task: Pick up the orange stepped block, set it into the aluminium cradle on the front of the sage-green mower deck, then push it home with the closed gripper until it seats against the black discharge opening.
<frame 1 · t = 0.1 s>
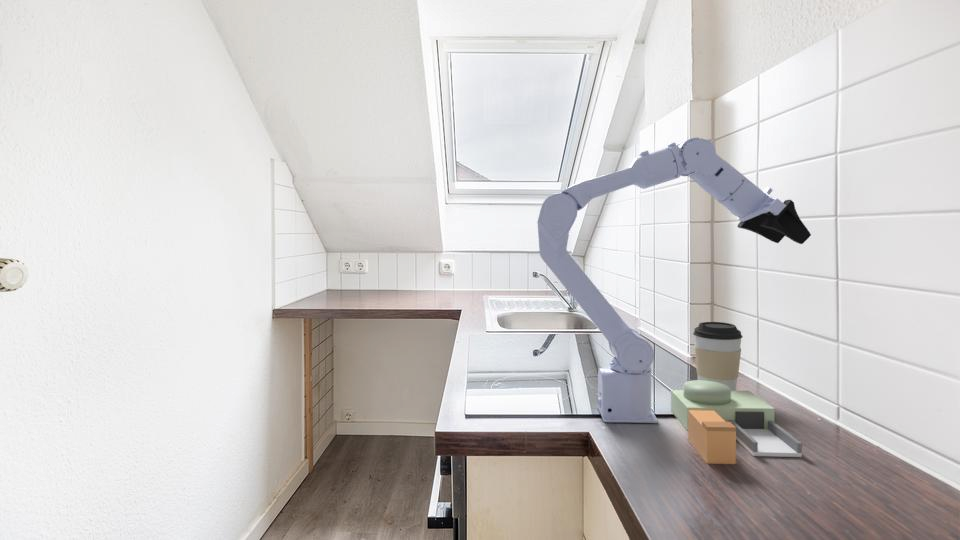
hand: (792, 239, 81), 32 cm above the countertop, tool tilted 50°, fingers open, 7 cm apart
orange stepped block: (710, 451, 71), on the countertop
coffee cup: (716, 395, 96), on the countertop
mower deck: (719, 420, 82), on the countertop
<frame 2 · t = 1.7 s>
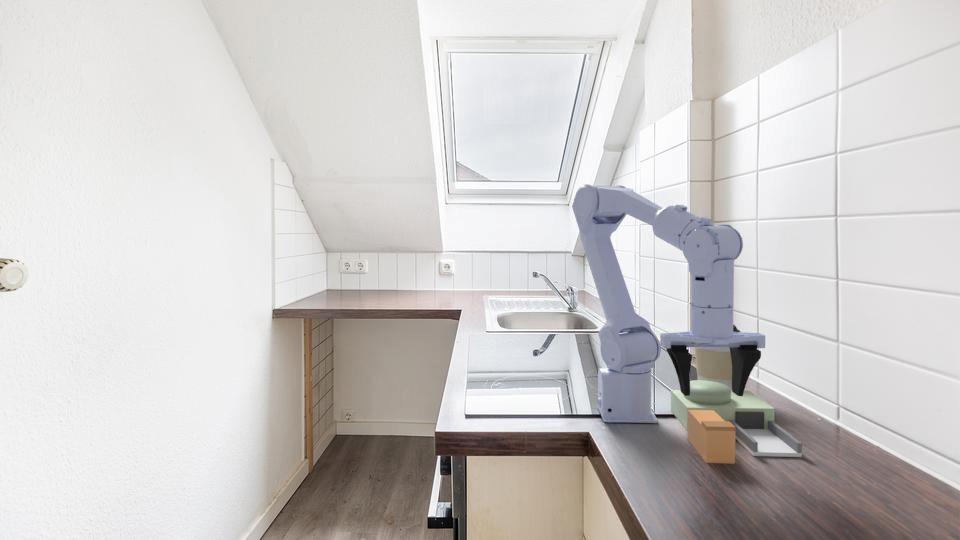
hand: (711, 393, 71), 9 cm above the countertop, tool pointing down, fingers open, 7 cm apart
nothing on the countertop moved.
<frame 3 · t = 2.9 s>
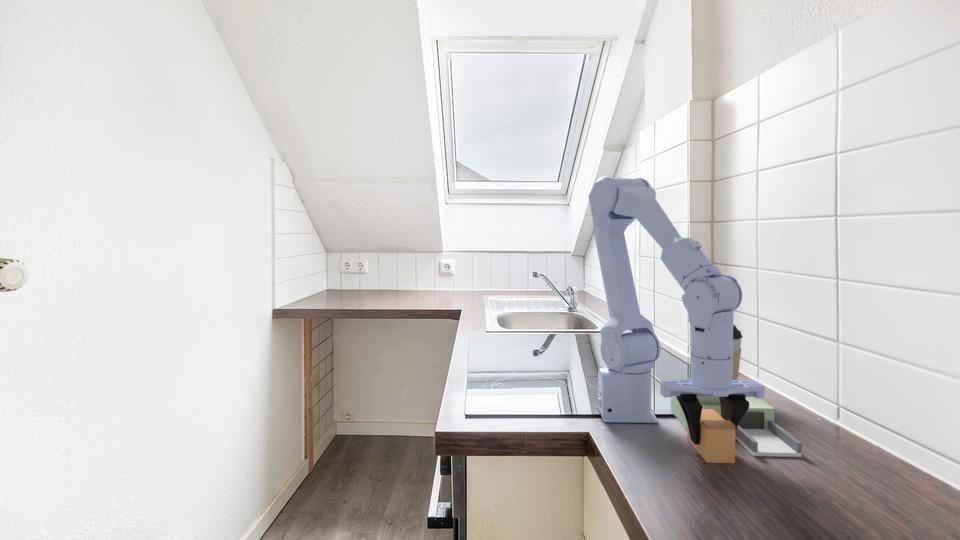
hand: (710, 442, 71), 1 cm above the countertop, tool pointing down, fingers closed on orange stepped block, 4 cm apart
orange stepped block: (709, 450, 71), on the countertop, touching gripper
everything else where it was.
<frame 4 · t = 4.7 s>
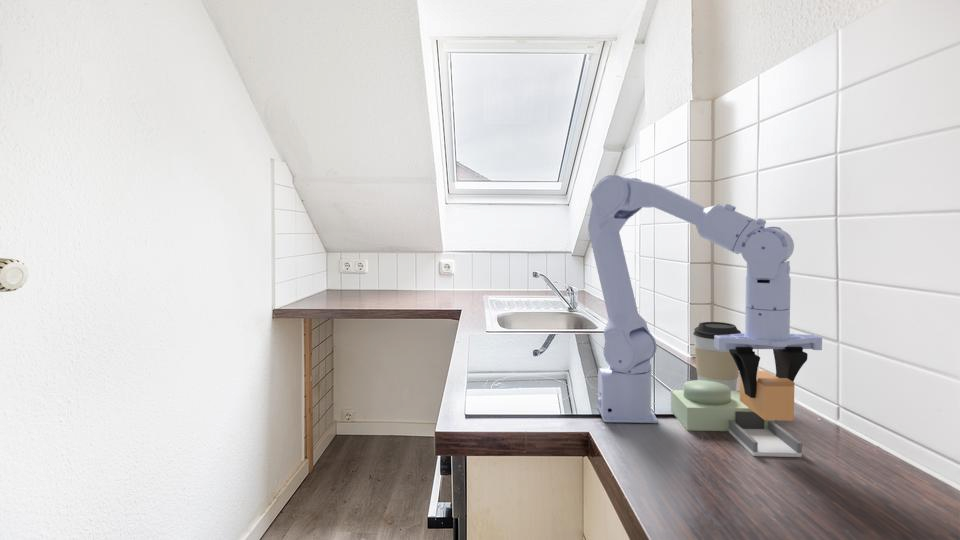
hand: (766, 395, 71), 8 cm above the countertop, tool pointing down, fingers closed on orange stepped block, 4 cm apart
orange stepped block: (765, 410, 71), point 6 cm above the countertop, touching gripper
everything else where it was.
when the fingers open (3 cm above the countertop, at t = 6.2 s): orange stepped block stays where it is, resting on mower deck.
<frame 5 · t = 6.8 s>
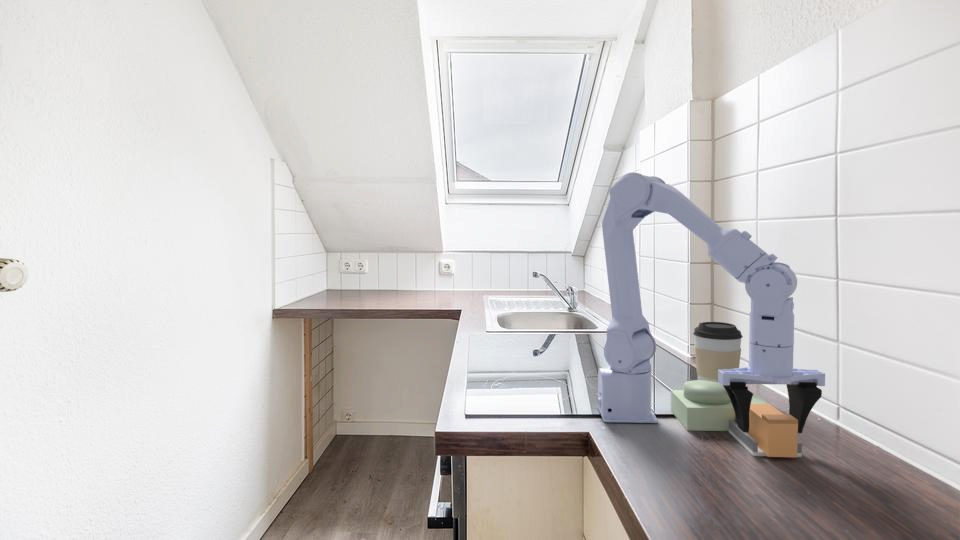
hand: (769, 430, 71), 3 cm above the countertop, tool pointing down, fingers open, 7 cm apart
orange stepped block: (768, 444, 71), point 1 cm above the countertop, touching mower deck
everything else where it was.
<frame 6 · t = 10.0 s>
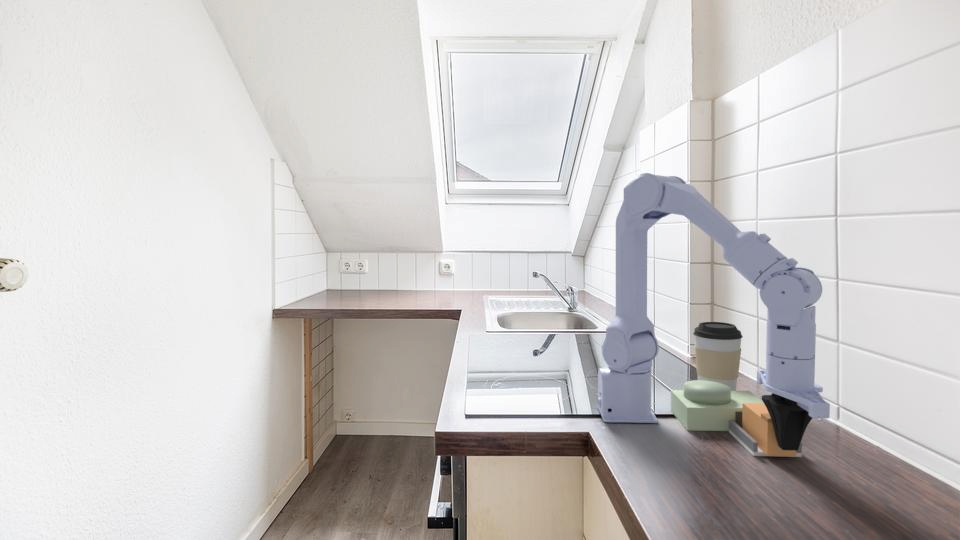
hand: (788, 448, 66), 3 cm above the countertop, tool pointing down, fingers closed
orange stepped block: (767, 443, 72), point 1 cm above the countertop, touching gripper
everything else where it was.
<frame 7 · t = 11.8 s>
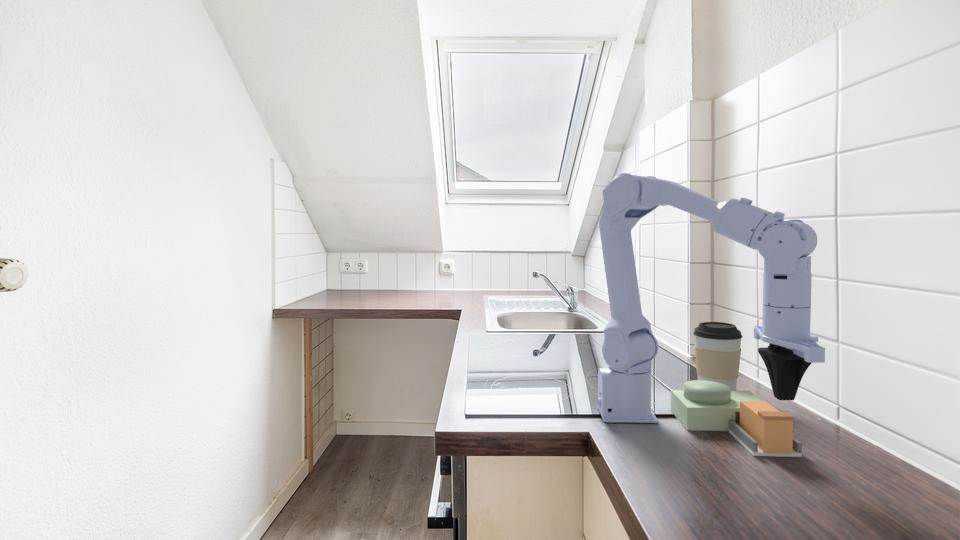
hand: (784, 398, 67), 9 cm above the countertop, tool pointing down, fingers closed
orange stepped block: (764, 441, 73), point 1 cm above the countertop, touching mower deck
everything else where it was.
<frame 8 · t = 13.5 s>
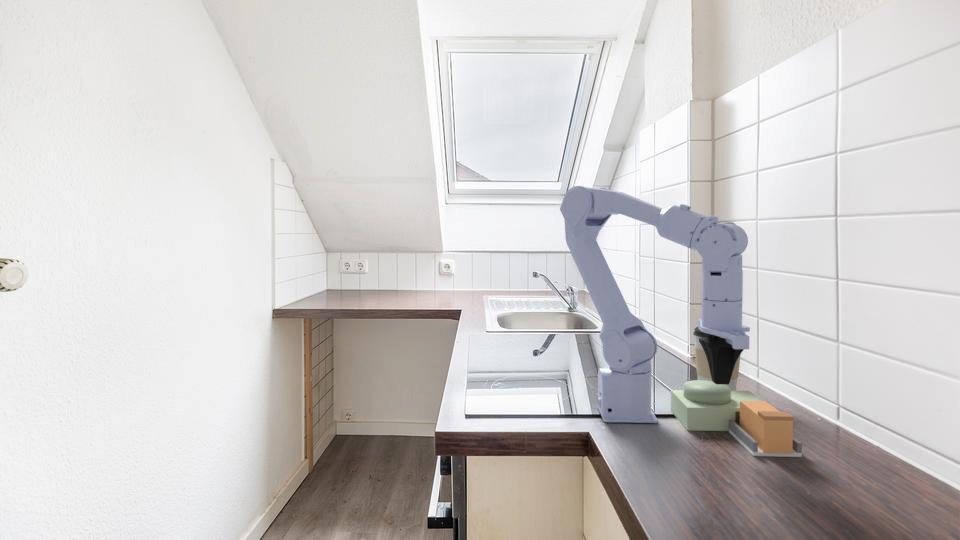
hand: (720, 383, 74), 9 cm above the countertop, tool pointing down, fingers closed
nothing on the countertop moved.
at the end: orange stepped block 0.7 cm from the target spot on the mower deck, point 0.6 cm above the mower deck's base; orange stepped block tilted 0°; the gripper is holding nothing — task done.
